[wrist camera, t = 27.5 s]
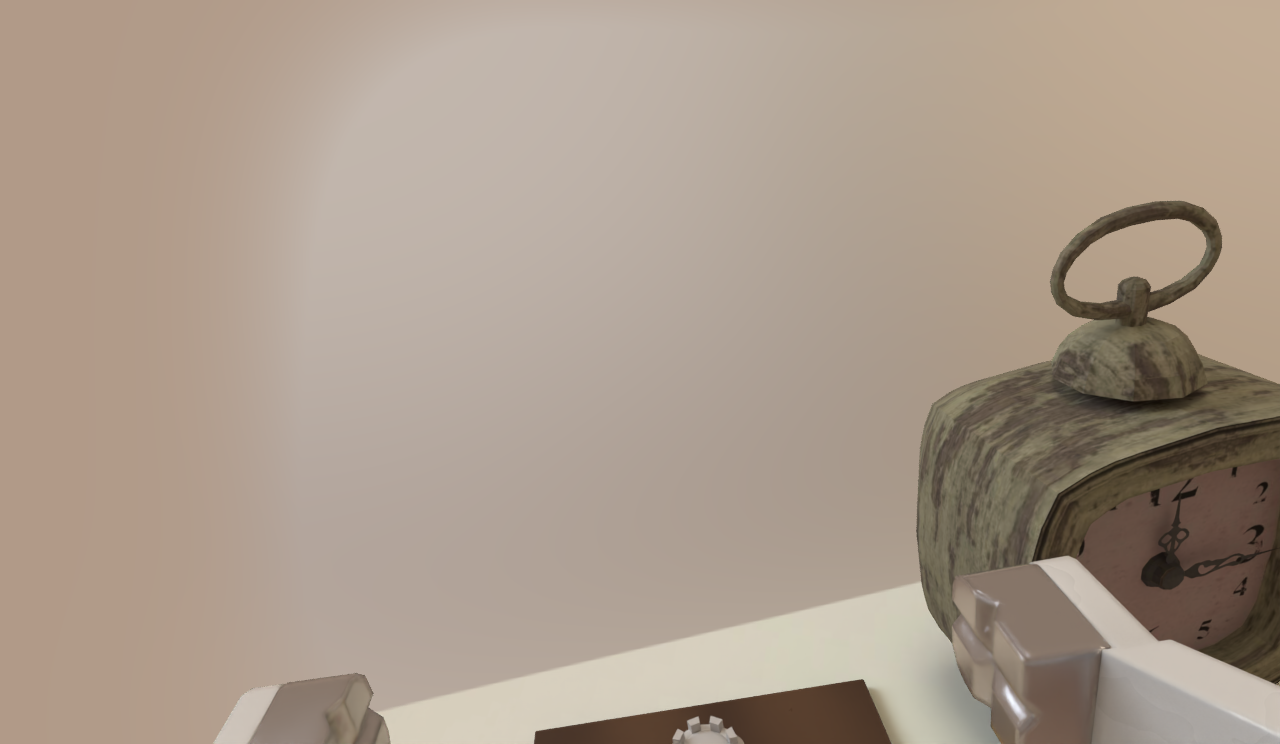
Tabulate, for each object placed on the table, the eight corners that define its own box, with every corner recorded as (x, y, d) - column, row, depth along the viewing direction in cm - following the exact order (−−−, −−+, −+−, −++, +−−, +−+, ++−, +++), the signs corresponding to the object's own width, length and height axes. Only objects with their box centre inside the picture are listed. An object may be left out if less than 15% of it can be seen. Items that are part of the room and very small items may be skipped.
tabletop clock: (1008, 828, 31) (1041, 270, 21) (900, 673, 39) (889, 221, 30) (1300, 737, 32) (1453, 180, 23) (1137, 606, 41) (1199, 157, 31)
